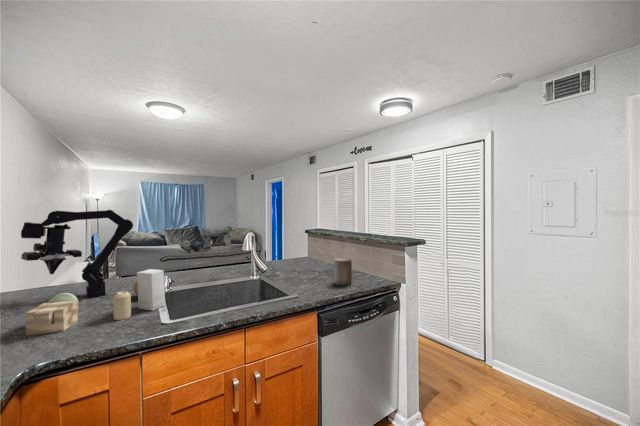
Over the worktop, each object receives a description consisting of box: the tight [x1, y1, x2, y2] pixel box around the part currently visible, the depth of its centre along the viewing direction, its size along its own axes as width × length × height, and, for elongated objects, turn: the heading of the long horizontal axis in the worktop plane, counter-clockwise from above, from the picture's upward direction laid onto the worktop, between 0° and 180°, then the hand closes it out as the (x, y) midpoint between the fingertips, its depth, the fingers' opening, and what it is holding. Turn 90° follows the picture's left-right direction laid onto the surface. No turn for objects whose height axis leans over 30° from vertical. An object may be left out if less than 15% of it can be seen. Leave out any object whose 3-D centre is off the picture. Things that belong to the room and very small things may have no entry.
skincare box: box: [136, 268, 166, 311], centre depth 117 cm, size 8×7×16 cm
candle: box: [112, 290, 132, 321], centre depth 107 cm, size 6×6×10 cm
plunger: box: [33, 292, 80, 326], centre depth 98 cm, size 14×9×9 cm, turn 19°
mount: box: [25, 299, 79, 336], centre depth 98 cm, size 10×10×8 cm
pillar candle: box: [333, 256, 353, 287], centre depth 154 cm, size 10×10×15 cm
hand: (51, 274), depth 123 cm, fingers closed
